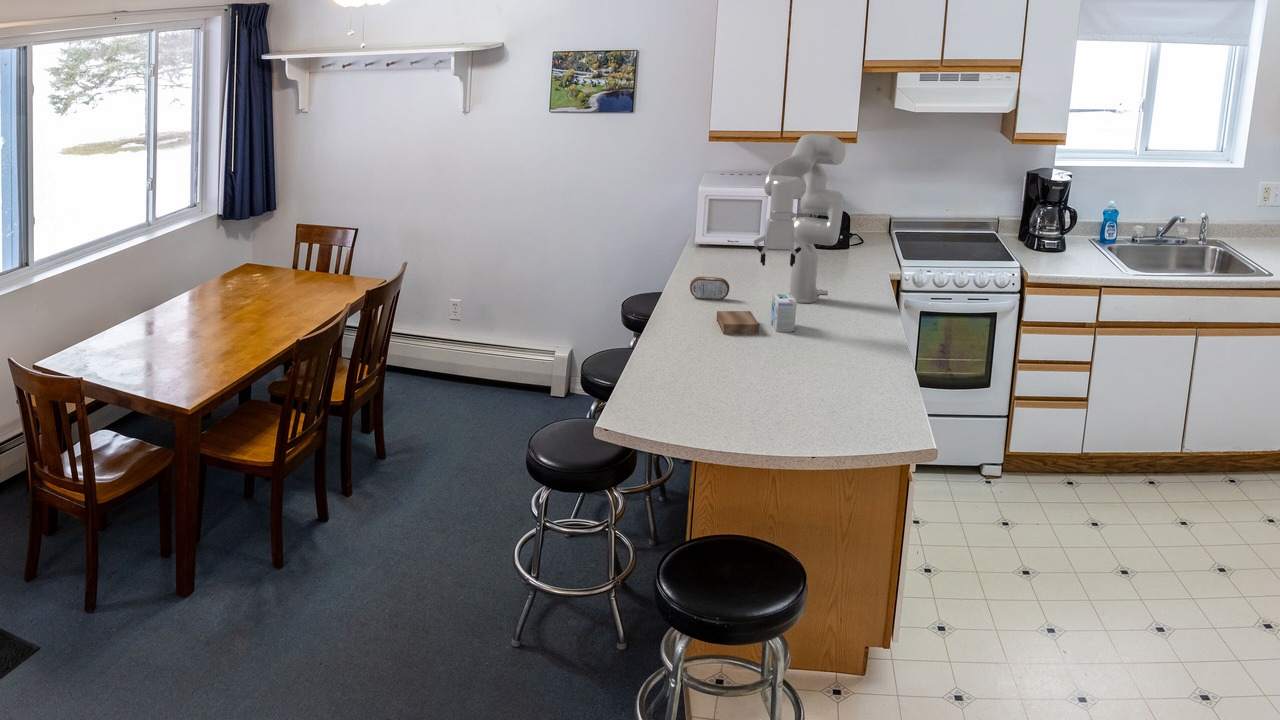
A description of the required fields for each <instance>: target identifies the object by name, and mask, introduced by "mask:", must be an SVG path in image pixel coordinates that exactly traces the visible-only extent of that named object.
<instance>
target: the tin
mask: <svg viewBox="0 0 1280 720" xmlns="http://www.w3.org/2000/svg"><path fill="white" fill-rule="evenodd" d="M689 291H690V294H691V296H693V297H694V298H696V299H699V300H712V299H714V300H713V301H719V300H720V301H721V300H724V299H725V298H727V296H728V295H729V292H730V284H729V282H728V281H727V280H726V278H725V279H724V278H722V277H717V276H697V277H695V278H693V279H692V280H691V281H690V284H689Z"/></svg>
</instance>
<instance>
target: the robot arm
mask: <svg viewBox="0 0 1280 720" xmlns="http://www.w3.org/2000/svg"><path fill="white" fill-rule="evenodd" d="M845 157H846V147H845V145H844V143H843V142H842V140H840V139H839V138H838V137H836V136H834V135H830V134H817V133H816V134H815V133H807V134H804V135H802V136H801V137H800V138H799V139H798V140H797V143H796V145H795V147H794V149H793V151H792V153H791V154H790V156H789V157H786V158H784V159H783V160H781V161H778V162H776V163H775V164H774V165H773V166H772V167H771V168H770V170H769V172H768V174H767V175H766V178H765V181H764V184H763V190H764V193H765V194H766V195H767V196H768V197H770V208H769V209H770V210H769V218H767V220H766V224H765V228H764V235H763V236H761V237H758V238H756V239H754V240H753V243H754V245H755V248H756V250H757V251H758V252H759V254H760V262H759V263H760V264H761V265H762V266H763V267H765V266H766V253H767V251H768V250H780V251H781V250H783V251H788V250H789V251H790V252H791V253H790V257H789V258H790V259H789V266H790V268H791V275H790V276H791V277H790V291H789V292H788V293H787V294H791V296H792V297H793V298H794V299H795V301H796V302H797V304H813V303H817V302H818V301H820V296H828V295H829V292H828V290H826V289H825V290H824V289H818V288H817V276H818V275H817V274H818V265H819V264H818V263H819V252H818V251H817V248H816V247H815V245H822V246H834V245H836V244H837V242H838V240H839V238H840V237H839V236H840V232H841V227H842V219H843V218H842V217H843V213H844V212H843V211H844V202H845V201H844V195H843V194H842V192H840V191H838V190H835V189H833V190H832V189H826V187H827V179H828V175H827V173H826V171H825V169H824V167H823V166H822V165H831V166H832V165H833V166H838V165H841V164H842V163H843V162H844V160H845ZM799 176H803V178H802V177H799ZM799 199H800V204H799V205H800V206H799V207H800V211H802V212H803V213H805V214H810V215H817V216H826V217H828V219H827V218H819V217H811V216H810V217H809V216H808V217H807V216H803V217H798V218H797V216H798V215H797V213H795V212H793V210H794V208H793V207H794V200H799ZM794 218H797V219H795V220H794ZM762 242H763V247H761V246H760V244H759V243H762Z"/></svg>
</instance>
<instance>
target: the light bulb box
mask: <svg viewBox="0 0 1280 720" xmlns="http://www.w3.org/2000/svg"><path fill="white" fill-rule="evenodd" d="M771 297H772V299H771V313H770V322H769V323H770V324H771V327H772V328H773V329H774V331H775V332H776V333H793V332H792V331H794V332H795V327H796V325H795V324H796V313H797V305H798V303H797V302H796V301H795V299H794V298H793V297H792V296H791V294H788V293H787V294H785V293H784V294H783V293H782V294H781V293H780V294H779V293H778V294H777V293H775V294H773V293H772V296H771Z"/></svg>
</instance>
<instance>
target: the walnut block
mask: <svg viewBox="0 0 1280 720" xmlns="http://www.w3.org/2000/svg"><path fill="white" fill-rule="evenodd" d="M717 322H718V323H717ZM716 323H717V325H718V324H719V325H718V326H720V327H719V328H721V329H720V330H721V333H722V335H759V329H760V328H759V326H760V324H759V322H758V320H757V319H756V318H755V316H754V314H753V312H751V310H717V311H716Z"/></svg>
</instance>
